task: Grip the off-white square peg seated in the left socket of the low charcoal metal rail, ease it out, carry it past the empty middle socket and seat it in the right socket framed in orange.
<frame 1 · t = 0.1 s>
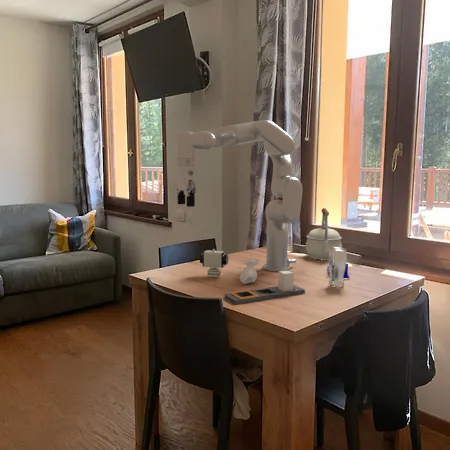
hand: (185, 205, 183), 31 cm above the table, tool pointing down, fingers open, 9 cm apart
beer glass: (336, 286, 181), on the table
mounting bracket: (337, 275, 199), on the table
rail: (265, 295, 167), on the table
kettle: (323, 258, 231), on the table
peg: (285, 292, 171), on the table
duck figurine: (248, 282, 185), on the table
pneumatic valve: (214, 276, 194), on the table
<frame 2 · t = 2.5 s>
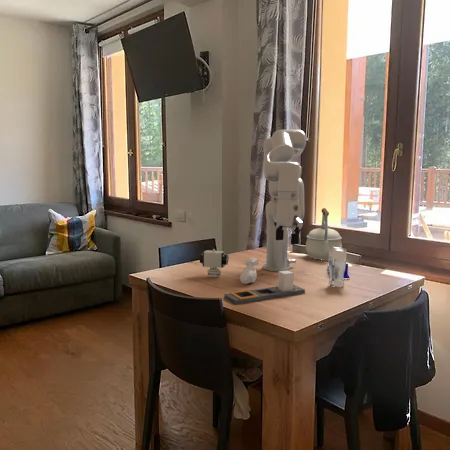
hand: (286, 242, 168), 20 cm above the table, tool pointing down, fingers open, 9 cm apart
nothing on the table moved.
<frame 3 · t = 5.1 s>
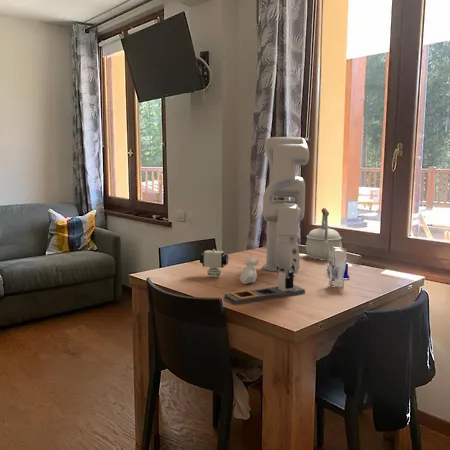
hand: (285, 286, 171), 3 cm above the table, tool pointing down, fingers closed on peg, 3 cm apart
peg: (285, 292, 171), on the table, touching gripper
everything else where it was.
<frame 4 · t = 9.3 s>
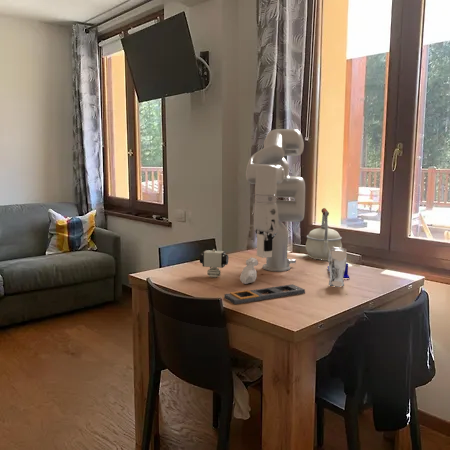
hand: (264, 249, 164), 18 cm above the table, tool pointing down, fingers closed on peg, 3 cm apart
peg: (264, 256, 164), point 15 cm above the table, touching gripper
everything else where it was.
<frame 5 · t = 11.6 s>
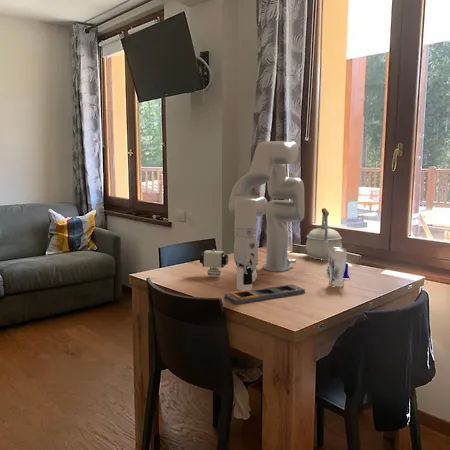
hand: (244, 282, 162), 6 cm above the table, tool pointing down, fingers closed on peg, 3 cm apart
peg: (244, 289, 162), point 4 cm above the table, touching gripper
everything else where it was.
when the fingers open (3 cm above the table, at t = 13.4 s): peg stays where it is, on the table.
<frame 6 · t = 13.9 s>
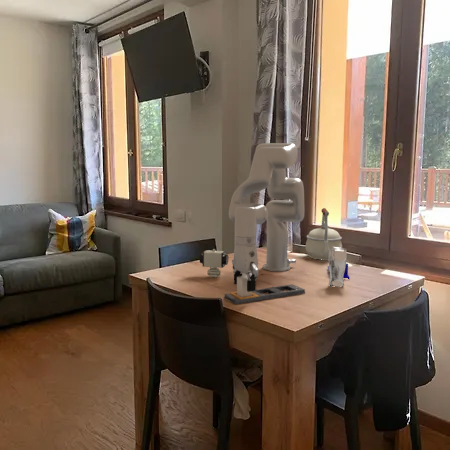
hand: (244, 287, 162), 4 cm above the table, tool pointing down, fingers open, 9 cm apart
peg: (244, 299, 163), on the table
everything else where it was.
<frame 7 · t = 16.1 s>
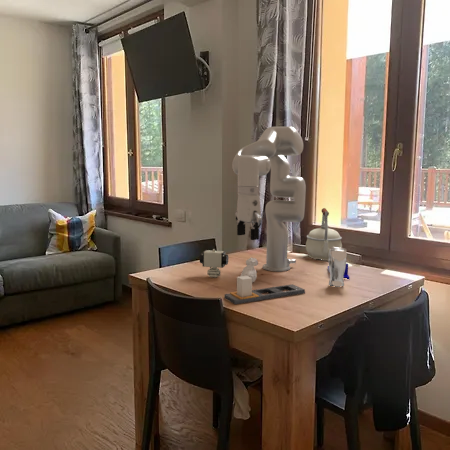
hand: (247, 237, 166), 22 cm above the table, tool pointing down, fingers open, 9 cm apart
nothing on the table moved.
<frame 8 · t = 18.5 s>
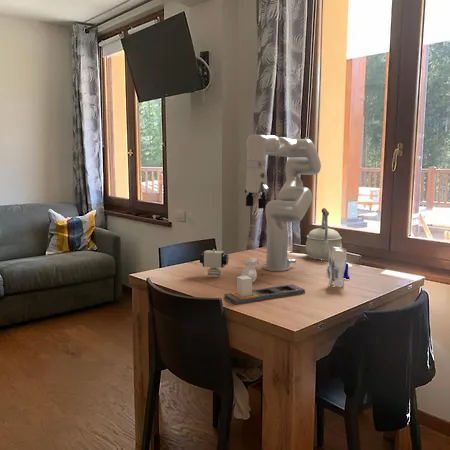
hand: (255, 207, 187), 30 cm above the table, tool pointing down, fingers open, 9 cm apart
nothing on the table moved.
at the end: peg 0.0 cm from the target spot on the rail, point 0.0 cm above the rail's base; peg tilted 0°; the gripper is holding nothing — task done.
